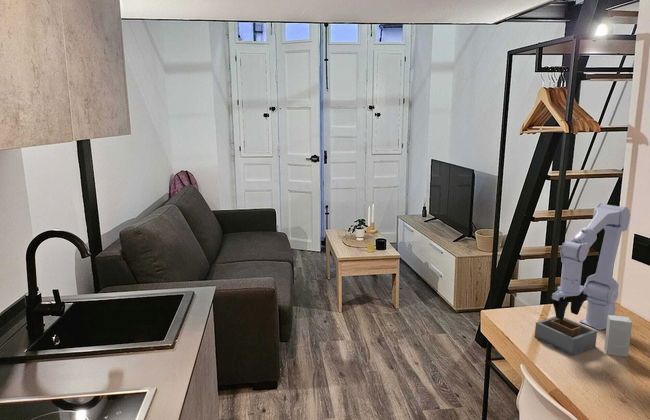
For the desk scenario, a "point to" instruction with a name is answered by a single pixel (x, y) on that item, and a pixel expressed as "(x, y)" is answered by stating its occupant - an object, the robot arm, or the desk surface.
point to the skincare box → (618, 335)
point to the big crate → (566, 337)
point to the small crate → (566, 327)
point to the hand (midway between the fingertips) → (567, 316)
